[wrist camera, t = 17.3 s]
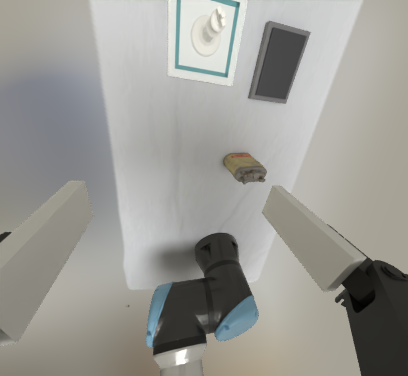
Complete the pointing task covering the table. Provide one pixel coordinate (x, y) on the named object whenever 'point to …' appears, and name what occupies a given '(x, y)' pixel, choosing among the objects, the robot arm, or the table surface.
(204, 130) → the table surface
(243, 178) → the lighter
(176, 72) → the print card
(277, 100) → the ink pad
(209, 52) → the chess piece
